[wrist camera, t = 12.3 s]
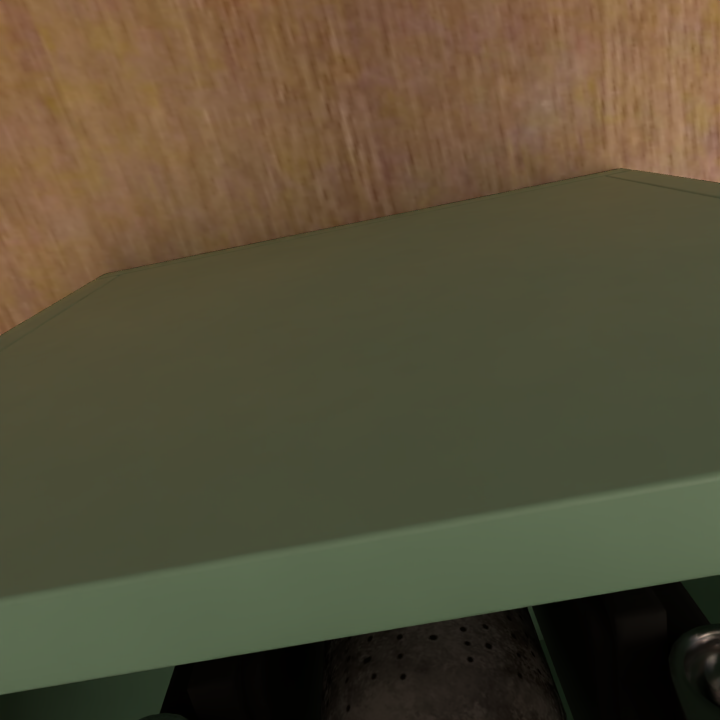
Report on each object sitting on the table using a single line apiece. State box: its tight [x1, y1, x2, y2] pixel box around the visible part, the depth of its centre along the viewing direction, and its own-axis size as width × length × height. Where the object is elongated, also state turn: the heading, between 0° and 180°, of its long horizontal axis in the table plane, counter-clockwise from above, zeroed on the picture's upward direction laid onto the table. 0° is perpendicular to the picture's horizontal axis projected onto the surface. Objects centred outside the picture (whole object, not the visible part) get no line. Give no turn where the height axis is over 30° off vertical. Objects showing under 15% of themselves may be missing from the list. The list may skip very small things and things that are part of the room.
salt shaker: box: [320, 607, 567, 720], centre depth 11 cm, size 6×6×12 cm
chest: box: [0, 168, 720, 720], centre depth 13 cm, size 16×15×14 cm
